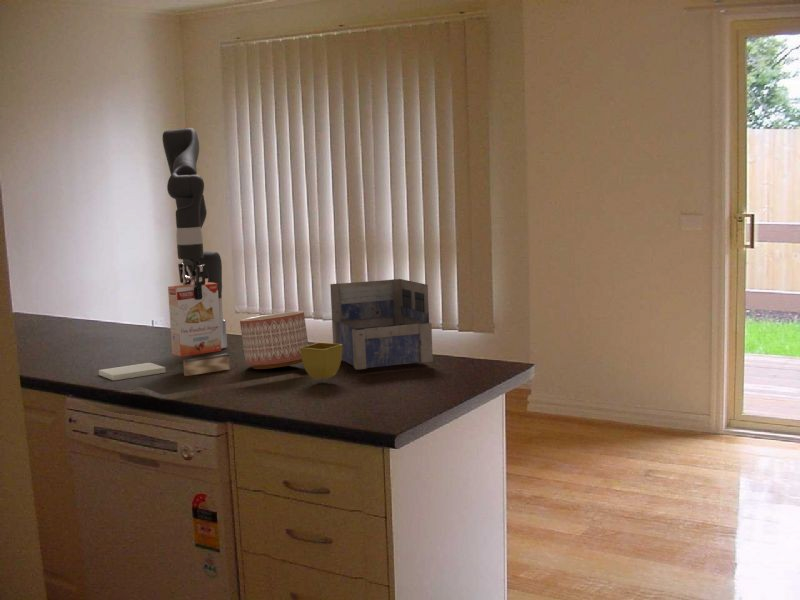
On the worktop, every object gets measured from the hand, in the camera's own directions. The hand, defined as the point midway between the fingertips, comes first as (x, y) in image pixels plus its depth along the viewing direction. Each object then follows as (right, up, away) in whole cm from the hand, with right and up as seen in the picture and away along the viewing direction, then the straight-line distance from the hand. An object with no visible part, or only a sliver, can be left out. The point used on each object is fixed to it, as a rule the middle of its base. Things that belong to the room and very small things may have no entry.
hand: (193, 298), depth 283 cm
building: (+56, -19, +8) cm, 60 cm away
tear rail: (+5, -22, -3) cm, 22 cm away
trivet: (-18, -23, 0) cm, 29 cm away
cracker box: (+1, -17, +2) cm, 17 cm away
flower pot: (+40, -22, -17) cm, 49 cm away
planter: (+25, -20, +1) cm, 32 cm away
